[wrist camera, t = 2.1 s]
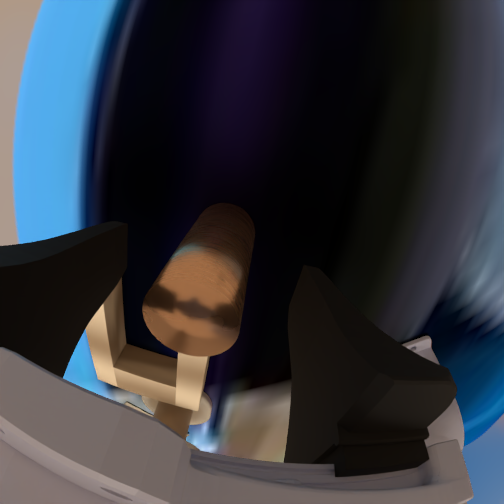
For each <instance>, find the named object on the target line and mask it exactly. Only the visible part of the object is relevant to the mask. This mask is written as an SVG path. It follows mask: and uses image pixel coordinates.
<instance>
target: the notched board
mask: <svg viewBox="0 0 504 504" xmlns="http://www.w3.org/2000/svg"><path fill="white" fill-rule="evenodd" d="M86 333H87V338H88V342H89V346H90V350H91V354H92V358H93V362H94V366H95V370H96V373H97V377H98V379H99V380H102V381H104V382H107V383H109V384H112V385H114V386H117V387H120V388H122V389H125V390H128V391H131V392H133V393H136V394H139V395H142V396H145V397H148V398H152V399H155V400H158V401H161V402H165V403H168V404H172V405H175V406H179V407H183V408H186V409H190V410H194V411H198V410H199V405H200V401H201V397H202V393H203V389H204V384H205V379H206V374H207V368H208V363H209V358H210V356H207V357H197V356H190V355H186V354H182V353H179V352H178V359H175V358H171V357H168V356H164V355H161V354H158V353H154V352H151V351H148V350H145V349H141V348H138V347H135V346H132V345H129V344H126V335H125V325H124V312H123V296H122V277H121V279H120V281H119V283H118V284H117V286H116V287H115V288H114V290H113V291H112V292H111V294H110V295H109V296H108V298H107V299H106V300H105V302H104V303H103V304H102V306H101V307H100V308H99V310H98V311H97V312H96V314H95V315H94V316H93V318H92V319H91V321H90V322H89V324H88V325H87V327H86Z"/></svg>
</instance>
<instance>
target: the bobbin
mask: <svg viewBox="0 0 504 504" xmlns="http://www.w3.org/2000/svg"><path fill="white" fill-rule="evenodd" d="M142 400H143V402H144V404H145V405H146V406H147V407H148V408H149V409H150V410H151V411H152V412H153V413H154V415H153V417H154V418H156V419H158V420H160V421H161V422H162V423H164V424H165V425H167V426H168V427H170V428H171V429H173V430H174V431H176V432H177V433H179V434H180V435H181V437H182V438H183V439H184V441H185V442H186V444H187V446H188V448H191V449H195V450H199V449H198V448H197V447H195V446H194V445H192V444H191V443H189V442H187V441H186V437H187V433H188V429H189V425H197V424H201V423H204V422H206V421H207V420H208V419H209V418H210V415H211V410H212V401H211V399H210V398H209V396H208V395H207V394H206V393H205V392H204V391H203V393H202V397H201V401H200V405H199V410H198V411H194V410H190V409H186V408H183V407H179V406H175V405H172V404H168V403H165V402H161V401H158V400H155V399H152V398H148V397H145V396H142ZM199 451H200V450H199Z"/></svg>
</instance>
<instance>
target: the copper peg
mask: <svg viewBox="0 0 504 504" xmlns="http://www.w3.org/2000/svg"><path fill="white" fill-rule="evenodd" d="M254 238H255V226H254V223H253V221H252V219H251V217H250V215H249V214H248V213H247V212H246V211H245V210H244V209H242V208H241V207H239V206H237V205H234V204H230V203H218V204H214V205H212V206H210V207H208V208H207V209H205V210H204V211H203V212H202V214H201V215H200V216H199V218H198V219H197V221H196V222H195V223H194V225H193V226H192V228H191V229H190V230H189V232H188V233H187V235H186V236H185V238H184V239H183V240H182V242H181V243H180V245H179V246H178V248H177V249H176V251H175V252H174V253H173V255H172V256H171V258H170V259H169V261H168V262H167V264H166V265H165V267H164V268H163V270H162V271H161V273H160V274H159V276H158V277H157V279H156V280H155V282H154V283H153V285H152V287H151V288H150V290H149V291H148V293H147V294H146V296H145V298H144V301H143V317H144V320H145V322H146V325H147V327H148V328H149V330H150V331H151V333H152V334H153V335H154V336H155V337H156V338H157V339H158V340H159V341H160V342H161V343H163V344H164V345H166V346H167V347H169V348H171V349H172V350H175V351H177V352H179V353H182V354H186V355H190V356H197V357H207V356H213V355H217V354H220V353H222V352H224V351H226V350H227V349H229V348H230V347H231V346H232V345H233V344H234V343H235V341H236V340H237V338H238V335H239V331H240V324H241V318H242V312H243V306H244V300H245V294H246V288H247V281H248V275H249V269H250V263H251V257H252V251H253V244H254Z"/></svg>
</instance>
